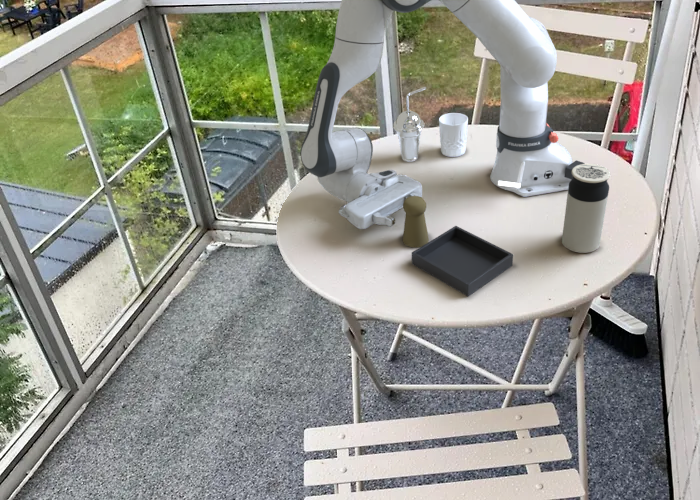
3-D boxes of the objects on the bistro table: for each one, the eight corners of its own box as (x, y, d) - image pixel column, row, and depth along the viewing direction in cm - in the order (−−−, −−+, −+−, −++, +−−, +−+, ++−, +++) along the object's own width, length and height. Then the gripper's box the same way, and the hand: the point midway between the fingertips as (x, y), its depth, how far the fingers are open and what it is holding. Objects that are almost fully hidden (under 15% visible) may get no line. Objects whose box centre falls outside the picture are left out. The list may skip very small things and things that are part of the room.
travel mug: (593, 257, 140) (605, 184, 130) (556, 248, 144) (565, 177, 133) (603, 238, 145) (616, 166, 135) (567, 229, 149) (577, 159, 139)
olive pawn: (411, 250, 148) (410, 209, 142) (397, 237, 152) (395, 197, 146) (434, 241, 150) (433, 200, 144) (419, 229, 154) (418, 189, 148)
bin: (411, 264, 144) (411, 252, 142) (455, 236, 151) (455, 225, 149) (468, 296, 133) (468, 284, 132) (512, 265, 140) (513, 254, 139)
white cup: (466, 144, 187) (467, 112, 181) (468, 157, 181) (468, 124, 175) (438, 145, 188) (438, 113, 182) (439, 158, 182) (439, 125, 176)
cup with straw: (397, 150, 188) (393, 83, 176) (428, 151, 186) (427, 83, 174) (392, 164, 181) (389, 96, 169) (425, 165, 179) (423, 96, 168)
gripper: (333, 199, 151) (373, 221, 142) (397, 166, 161) (438, 185, 152) (335, 222, 155) (375, 245, 146) (398, 188, 165) (438, 208, 156)
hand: (407, 214), depth 149 cm, fingers open, 8 cm apart
